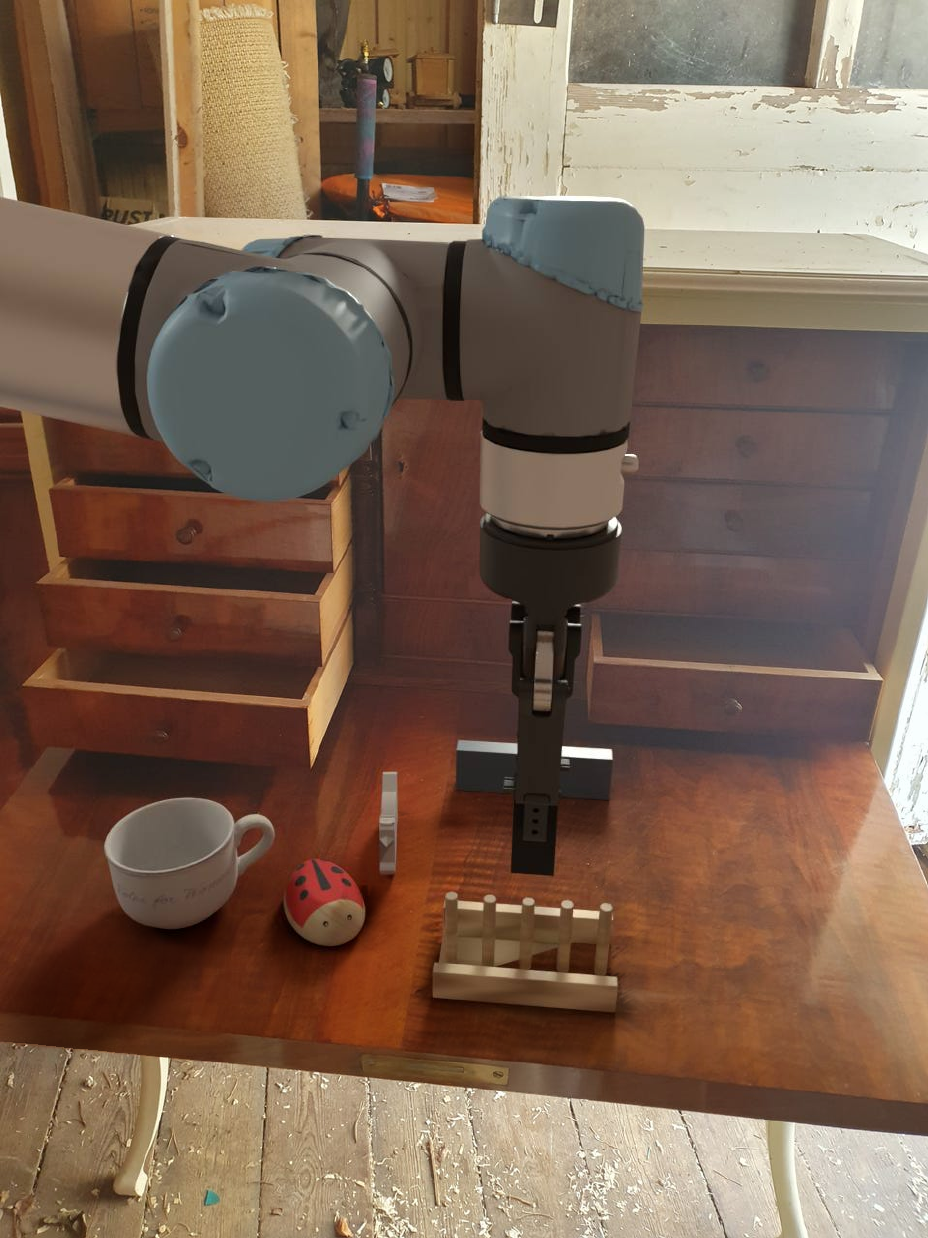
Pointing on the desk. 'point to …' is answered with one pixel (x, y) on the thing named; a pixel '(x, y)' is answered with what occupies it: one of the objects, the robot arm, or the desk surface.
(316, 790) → the desk surface
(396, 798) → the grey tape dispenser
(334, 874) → the ladybug figurine
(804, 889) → the desk surface
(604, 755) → the back rail
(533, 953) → the rack
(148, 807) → the teacup
